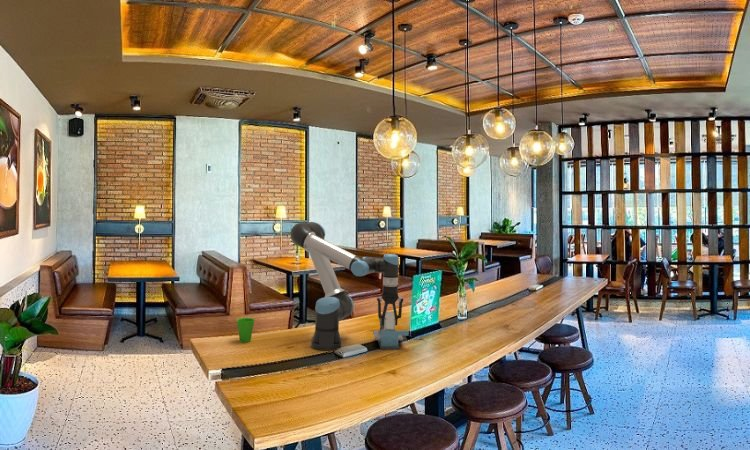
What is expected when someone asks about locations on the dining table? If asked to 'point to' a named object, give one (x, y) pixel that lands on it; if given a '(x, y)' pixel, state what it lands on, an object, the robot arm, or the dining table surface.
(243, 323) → the cup
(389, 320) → the grey rectangular block
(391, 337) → the notched panel with ball
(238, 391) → the dining table surface
